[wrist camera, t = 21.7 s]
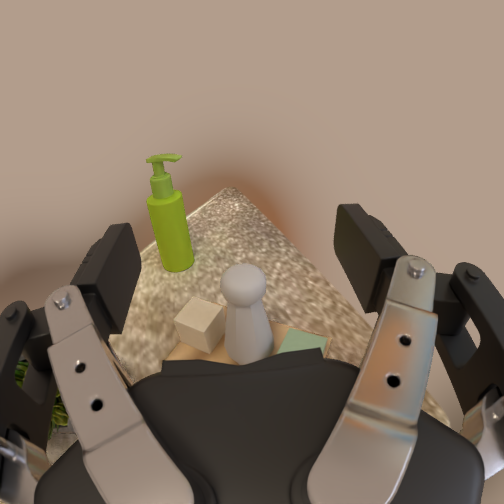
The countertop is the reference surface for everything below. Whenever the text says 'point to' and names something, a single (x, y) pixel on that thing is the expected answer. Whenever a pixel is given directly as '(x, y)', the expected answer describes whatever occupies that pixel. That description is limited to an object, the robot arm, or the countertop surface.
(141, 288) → the countertop surface
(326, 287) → the countertop surface
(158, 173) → the soap dispenser
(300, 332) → the sage green cube
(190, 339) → the beige matte cube
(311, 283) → the countertop surface
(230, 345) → the salt shaker
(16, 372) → the potted plant
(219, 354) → the wood board
